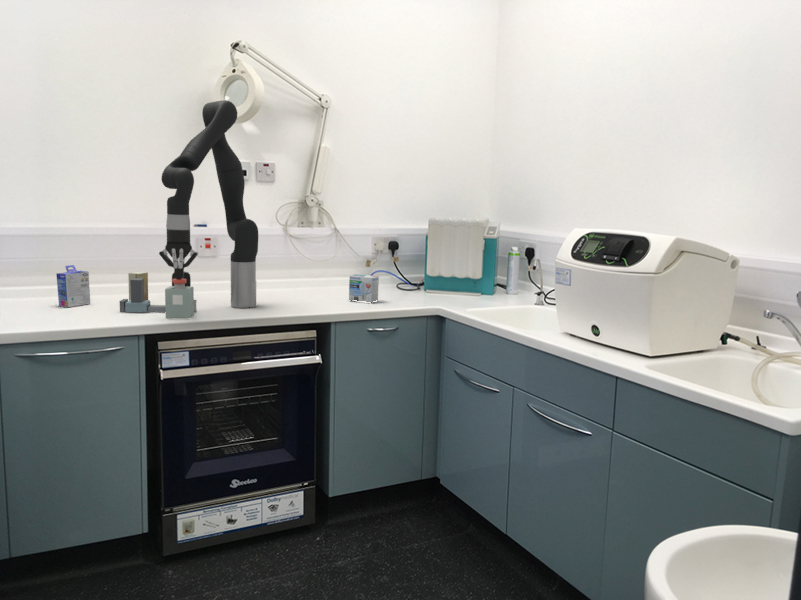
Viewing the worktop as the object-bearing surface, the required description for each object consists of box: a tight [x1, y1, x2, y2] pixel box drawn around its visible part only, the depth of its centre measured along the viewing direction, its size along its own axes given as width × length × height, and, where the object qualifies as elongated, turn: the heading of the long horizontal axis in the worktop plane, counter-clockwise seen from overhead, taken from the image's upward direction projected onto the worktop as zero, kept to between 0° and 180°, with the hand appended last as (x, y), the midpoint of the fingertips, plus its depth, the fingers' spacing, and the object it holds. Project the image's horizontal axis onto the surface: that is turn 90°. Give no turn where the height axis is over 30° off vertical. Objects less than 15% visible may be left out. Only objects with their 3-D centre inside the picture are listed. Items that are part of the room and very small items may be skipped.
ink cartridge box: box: [55, 264, 91, 308], centre depth 235 cm, size 10×6×14 cm, turn 155°
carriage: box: [125, 278, 151, 313], centre depth 228 cm, size 7×6×11 cm
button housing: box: [164, 285, 195, 319], centre depth 221 cm, size 8×7×10 cm
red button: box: [171, 278, 186, 289], centre depth 221 cm, size 5×5×10 cm
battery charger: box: [171, 271, 192, 287], centre depth 253 cm, size 7×4×11 cm, turn 109°
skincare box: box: [127, 271, 149, 301], centre depth 240 cm, size 6×4×12 cm
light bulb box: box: [348, 274, 380, 302], centre depth 266 cm, size 11×7×11 cm, turn 68°
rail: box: [119, 298, 197, 314], centre depth 229 cm, size 25×5×4 cm, turn 98°
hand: (179, 279), depth 220 cm, fingers closed
